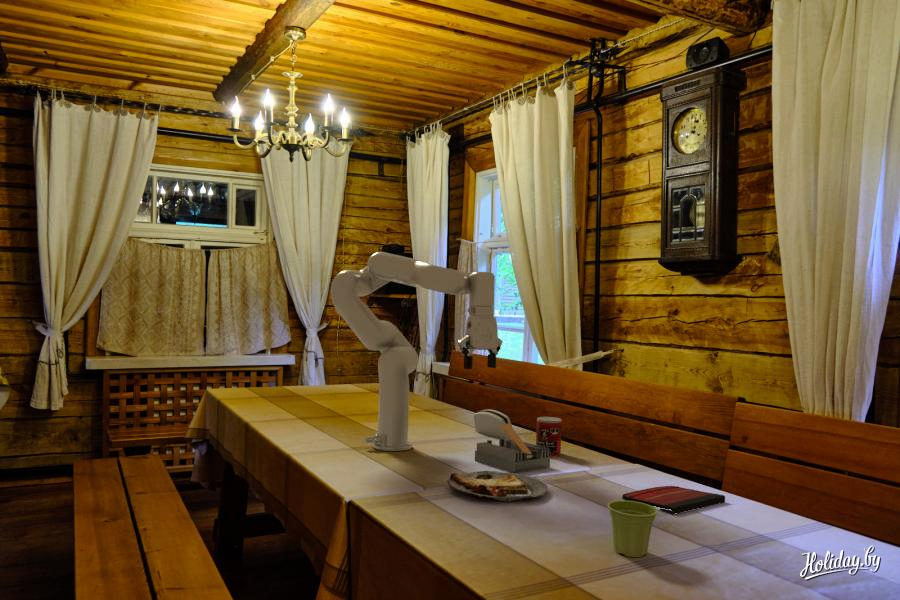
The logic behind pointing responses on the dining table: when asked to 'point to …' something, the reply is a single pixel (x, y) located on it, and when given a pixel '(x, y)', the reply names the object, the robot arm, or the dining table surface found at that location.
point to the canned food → (549, 434)
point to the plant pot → (631, 526)
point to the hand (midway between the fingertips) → (479, 368)
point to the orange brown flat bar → (515, 438)
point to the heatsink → (512, 456)
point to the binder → (674, 498)
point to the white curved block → (491, 423)
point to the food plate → (497, 485)
